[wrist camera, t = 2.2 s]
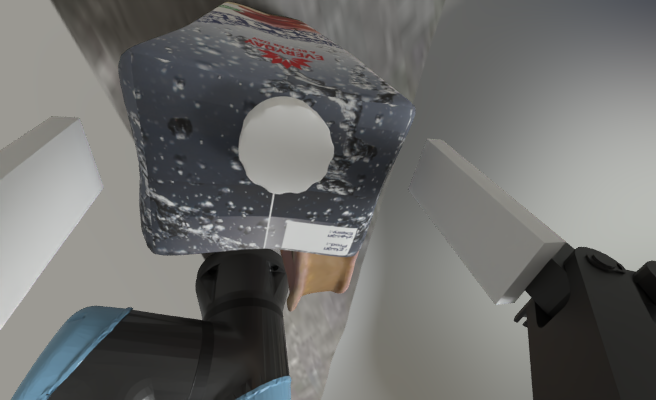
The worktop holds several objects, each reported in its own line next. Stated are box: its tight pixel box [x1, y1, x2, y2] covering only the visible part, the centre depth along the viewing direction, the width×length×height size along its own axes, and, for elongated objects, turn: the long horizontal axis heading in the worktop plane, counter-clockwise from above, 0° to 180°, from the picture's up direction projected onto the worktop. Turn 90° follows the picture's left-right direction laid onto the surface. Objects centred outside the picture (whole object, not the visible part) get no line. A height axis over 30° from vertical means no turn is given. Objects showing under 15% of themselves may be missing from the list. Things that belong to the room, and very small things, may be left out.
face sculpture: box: [281, 250, 359, 311], centre depth 34 cm, size 20×7×17 cm, turn 174°
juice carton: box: [118, 2, 415, 257], centre depth 20 cm, size 9×10×27 cm
